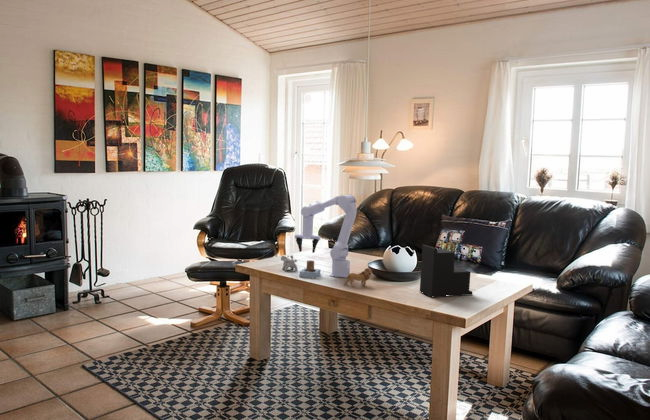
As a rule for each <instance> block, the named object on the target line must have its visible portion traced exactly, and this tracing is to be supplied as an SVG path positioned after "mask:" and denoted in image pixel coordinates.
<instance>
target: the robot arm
mask: <svg viewBox="0 0 650 420" xmlns="http://www.w3.org/2000/svg"><path fill="white" fill-rule="evenodd" d="M334 205H335V206H338V207H339V208H340V209H342V211H343V212H344V214H345V216H344V219H343V222H342V225H341V228H340V232H339V235H338V238H337V241H336V242H335V243H334V245H333V247H332V248H331V250H330V252H329V253H330V255H329V256H330V257H331V260H332V262H331V263H332V265H331V266H332V267H331V274H330V275H329V277H336V278H347V276H348V275H349V274H350V273H351V272H350V271H351V261H350V260H349V259H347V257H348V254H349V247H350V246H349V244H348V242H349V240H350V239H349V238H350V236H351V233H352V229H353V227H354V223H355V220H356V218H357V217H356V216H357V215H358V214H357V213H358V212H357V200H356V197H355V196H354V195H352V194H345V195H344V194H342V195H338V196H334V197H332V198H330V199H328V200H325V201H321V200H320V201H319V200H317V201H315V203H313V204H309V205H308V206H303V207H302V208H301V210H300V213H301V214H300V215H301V216H302V230H301V231H302V233H301V234H294V239H295V241H296V243H297V246H298V250H299V251H298V252H299V253H300V252H303V251H302V250H303V247H302V245H303V240H311V242H312V250H311V251H312V253H315V252H316V248H317V245H318V244H319V241H321V235H313V234H314V232H313V231H314V217H315V215H318V214H320V213H323V212H324V211H325V209H326V208H329V207H331V206H334Z"/></svg>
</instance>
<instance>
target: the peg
mask: <svg viewBox="0 0 650 420" xmlns="http://www.w3.org/2000/svg"><path fill="white" fill-rule="evenodd" d="M306 268H307V271H309V272H314V269H315V260H307V261H306Z"/></svg>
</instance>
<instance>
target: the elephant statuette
mask: <svg viewBox="0 0 650 420" xmlns="http://www.w3.org/2000/svg"><path fill="white" fill-rule="evenodd" d="M280 261H282V262H283V264H282V268H281V269H282V270H283V271H284V272H287V271H288V269H291V270H295V271H298V266H297V264H296V263H297V262H298V260H297V259H296V258H295V259H294V255H292V254H291V255H286V256H285V255H282V256H281V257H280Z"/></svg>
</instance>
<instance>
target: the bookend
mask: <svg viewBox="0 0 650 420" xmlns="http://www.w3.org/2000/svg"><path fill="white" fill-rule="evenodd" d="M455 256H456V252H455V251H452V250H449V249H445V248H438V249H437V248H435V247H432V246H430V245H426V244H422V248H421V265H420V279H419V280H420V281H419V292H420V291H421V292H423V293H425V294H427V295H429V296H428V297H430V296H431V297H430V298H433V297H432V296H444V297H447V296H446V295H460V296H464V295H463V294H473V291H472V290H470V283H471V271H469V270H466V269H464V268H461V267H456V268H455V261H456V260H455V258H456V257H455ZM421 292H420V293H421ZM423 293H422V294H423ZM425 294H424V295H425ZM427 295H426V296H427Z"/></svg>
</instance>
